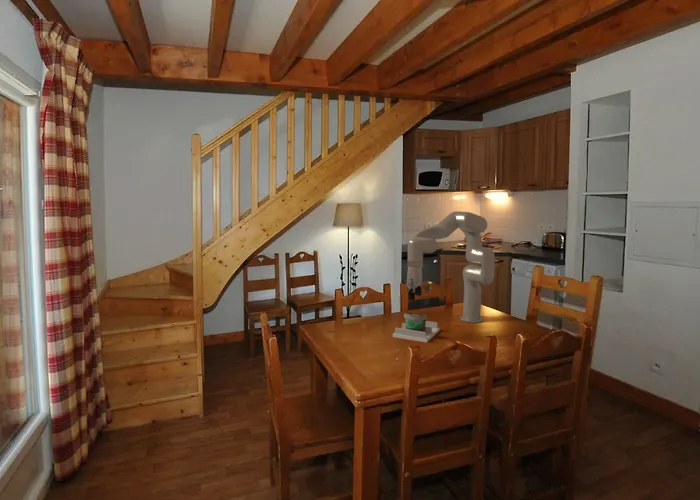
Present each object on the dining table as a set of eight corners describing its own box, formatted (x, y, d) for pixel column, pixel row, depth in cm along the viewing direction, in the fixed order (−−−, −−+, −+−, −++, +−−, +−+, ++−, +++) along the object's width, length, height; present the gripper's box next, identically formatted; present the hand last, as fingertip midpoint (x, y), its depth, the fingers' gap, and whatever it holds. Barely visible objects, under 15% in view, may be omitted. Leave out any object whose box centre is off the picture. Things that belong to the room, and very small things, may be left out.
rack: (407, 325, 246) (407, 317, 245) (439, 330, 237) (439, 322, 237) (392, 336, 227) (392, 328, 227) (426, 342, 219) (427, 333, 218)
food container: (399, 333, 228) (400, 314, 226) (404, 330, 233) (404, 311, 232) (423, 337, 222) (423, 317, 221) (427, 333, 227) (427, 314, 226)
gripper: (414, 260, 233) (413, 293, 235) (401, 266, 218) (401, 300, 220) (427, 261, 229) (427, 294, 232) (416, 267, 214) (416, 302, 216)
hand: (414, 297), depth 226 cm, fingers open, 9 cm apart
